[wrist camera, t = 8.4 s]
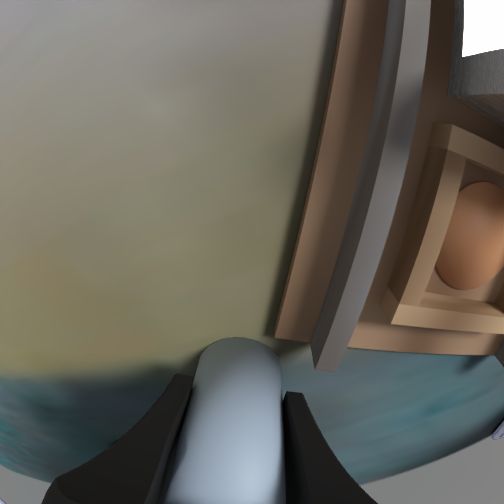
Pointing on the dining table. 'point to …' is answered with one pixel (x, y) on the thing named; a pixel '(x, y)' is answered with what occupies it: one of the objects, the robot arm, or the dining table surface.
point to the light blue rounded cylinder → (232, 429)
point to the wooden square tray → (399, 199)
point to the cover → (478, 57)
